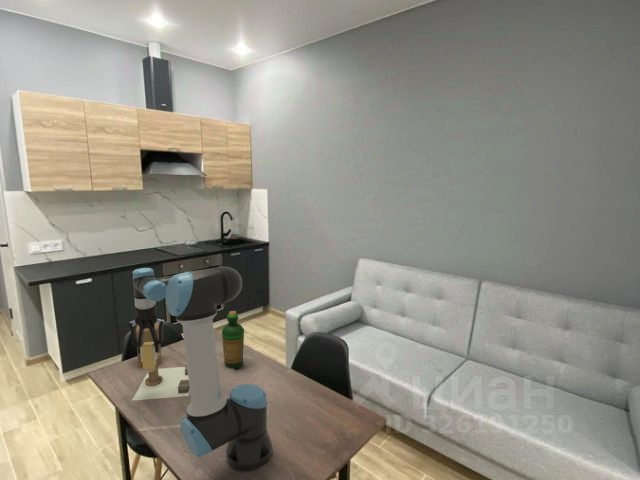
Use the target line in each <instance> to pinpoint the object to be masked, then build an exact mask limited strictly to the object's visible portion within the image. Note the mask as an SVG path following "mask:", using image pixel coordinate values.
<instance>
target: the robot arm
mask: <svg viewBox="0 0 640 480" xmlns="http://www.w3.org/2000/svg"><path fill="white" fill-rule="evenodd" d="M154 272H155V271H154V269H153V268H151V267H141V268H137V269H134V270H133V272H132V282H133V283H132V284H133V296H134V307H135V308H134V309H135V310H134V311H135V313H134V314H135V319H134V320H130V321H129V322H128V324H127V325H128V328H129V329H130V337H131V338H130V339H131V345H132V346H136V348H137V347H138V354H141V362H143V360H142V346H143V344H142V343H143V342H142V340H143V334H144V329H146V328H147V329H149V331H150V332H151V335H152V339H153V342H154V345H153V346H152V347H153V361H156V359H157V352H158V351H159V344H160V345H161V344H163V342H164V323H165V321H166V320H165V319H164V318H162V319H160V318H158V316H157V315H158V314H157V305H156V303H157V302H160V301H162V300H164V299H165V305H166V306H167V312H169V314H170V316H173V317H175V321H176V322H178V323H179V324H181V326H182V333H183V341H184V342H183V343H184V351H185V359H186V365H187V370H188V379H189V388H190V392H189V395H190V403H189V404H188V406H187V407H186V417H184V418H183V419H181V421H180V430H181V434H182V436H183V440H184V442H185V444H186V446H187V448H188V449H189V451H190V452H191V453H192V455H193V456H195V457H198V458H200V457H204V456H205V455H208V454H209V453H213V451H214V450H217V449H219V448H220V447H222V446H224V445H226V444H227V445H226V449H225V452H226V454H225V455H226V456H225V457H226V461H227V464H228V465H229V466H230V467H231V468H232V469H235V470H237V471H241V472H248V471H254V470H256V469H257V470H258V469H259V468H261V467H263V466H264V465H266V463H268V462H269V460H270V459H271V456H272V453H273V443H272V440H271V437H270V434H269V433H268V430H267V428H268V427H267V425H268V423H267V422H268V421H267V418H268V417H267V415H268V414H267V406H268V401H267V394H266V391H265V390H264V388H263V387H260V386H259V385H255V384H250V383H248V384H239V385H237V386H235V387H233V388H232V389H231V391H230V393H229V398H226V397H225V396H223V395H222V394H221V393H222V392H221V384H220V376H219V375H220V373H219V366H218V357H217V356H218V355H217V348H216V339H215V332H214V331H215V330H214V328H215V327H214V321H213V320H214V318H215V317H216V316H217V315H218V310H217V306H220V305H223V304H226V303H227V304H228V303H229V302H231V301H233V300H234V299H236V297H238V296H239V294H240V293H241V291H242V288H243V279H242V276H241V274H240V272H238V270H236V269H235V268H232V267H230V266H216V267H211V268H204V269H197V270H191V271H184V272H181V273H177V274H174V275H169V276H163V277H157V278H156V277H155V273H154ZM156 322H158V325H159V340H158V337H157V333H156V330H155V323H156ZM137 325H138V326H139V327H140V328H139V337H138V341H137V335H136V328H137Z"/></svg>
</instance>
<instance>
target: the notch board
mask: <svg viewBox="0 0 640 480" xmlns="http://www.w3.org/2000/svg"><path fill="white" fill-rule="evenodd" d="M184 367H185V375H188V370H187V364H186V365H185V366H184ZM188 391H189V380H180V383H179V385H178V393H187V392H188Z"/></svg>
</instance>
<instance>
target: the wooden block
mask: <svg viewBox="0 0 640 480" xmlns="http://www.w3.org/2000/svg"><path fill="white" fill-rule="evenodd" d="M139 328H140V327H139V326H138V325H137V324H136V335H137V341H138V337H139ZM155 330H156V333H157V337H158V340H159V325H158V322H156V323H155ZM142 342H143V343H142V344H144V342H153V339H152V335H151V332H150V331H149V329H147V328H146V329H144V334H143V340H142ZM161 347H162V346H161V344H159V351H158V352H157V353H160V354H161V355H162V349H161ZM136 351H137V364H138V365H137V366H138V369H141V368H142V369H143V362H141V354H138V347H137V346H136ZM161 364H162V358H161V359H160V360H158V366H159V365H161Z"/></svg>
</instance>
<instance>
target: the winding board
mask: <svg viewBox="0 0 640 480" xmlns="http://www.w3.org/2000/svg"><path fill="white" fill-rule="evenodd" d="M185 367H186V366H180V367H179V366H178V367H164V368H158V374H159V375H160V376H162V378H163V381H162V382H161V383H160V384H158V385H155V386H147V385H146V384H145V380H146V379H147V378H149V375H148V372H147V373H146V375H145V376H144V379H143V380H142V382H141V383H140V385H139V387H138V389H137V390H136V392H135V394H134V396H133V398H132V402H133V401H144V400H155V399H167V398H168V399H169V398H180V397H189V395H190V388H189V391H188V392H187V393H178V385H179V383H180V380H189V379H188V375H185Z"/></svg>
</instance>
